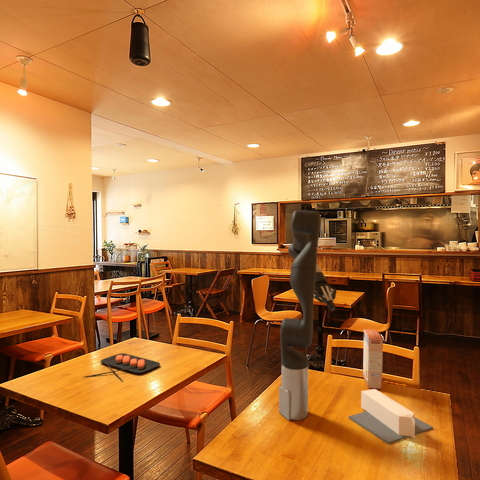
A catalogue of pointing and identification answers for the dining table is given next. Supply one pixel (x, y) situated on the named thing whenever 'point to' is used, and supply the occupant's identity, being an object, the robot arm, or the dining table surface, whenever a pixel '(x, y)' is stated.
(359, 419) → the mat
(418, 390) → the dining table surface
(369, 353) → the cracker box
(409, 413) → the milk
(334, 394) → the dining table surface
